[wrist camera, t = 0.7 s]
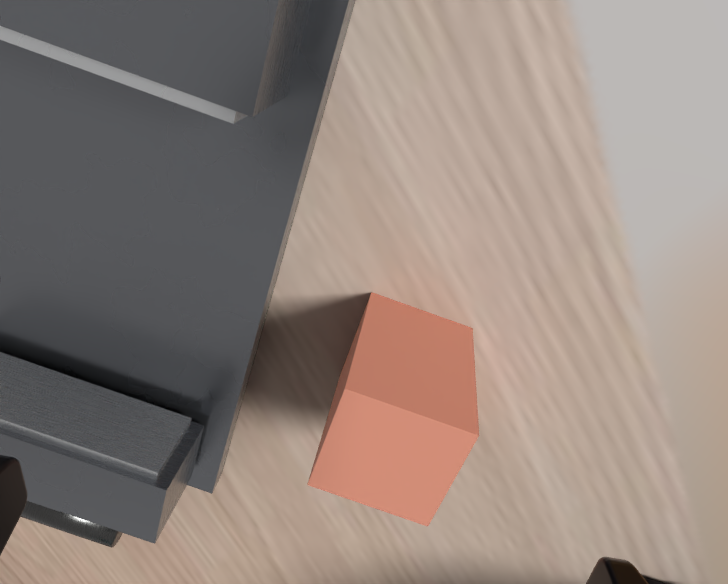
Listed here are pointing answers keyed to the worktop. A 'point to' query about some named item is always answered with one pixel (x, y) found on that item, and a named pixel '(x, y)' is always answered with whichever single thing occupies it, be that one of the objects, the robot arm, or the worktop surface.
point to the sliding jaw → (93, 453)
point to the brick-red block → (400, 412)
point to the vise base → (155, 189)
